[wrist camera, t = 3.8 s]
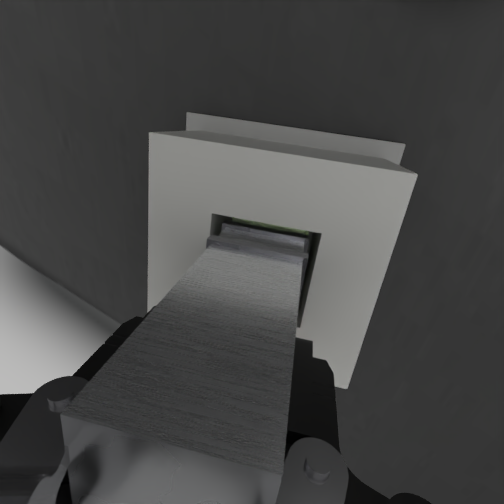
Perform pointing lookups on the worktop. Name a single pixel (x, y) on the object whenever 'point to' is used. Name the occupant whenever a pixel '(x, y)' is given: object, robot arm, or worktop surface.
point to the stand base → (283, 214)
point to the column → (198, 383)
